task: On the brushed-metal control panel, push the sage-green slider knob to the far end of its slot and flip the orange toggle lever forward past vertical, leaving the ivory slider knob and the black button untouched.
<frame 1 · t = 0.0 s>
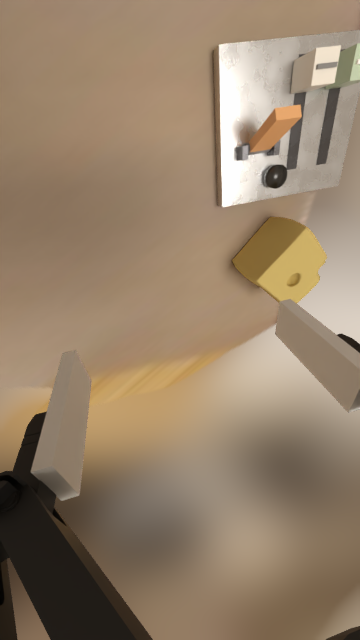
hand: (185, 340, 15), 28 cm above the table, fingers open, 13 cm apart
slider ivory: (314, 71, 28), point 4 cm above the table, slide at 0.0 cm
lever orange: (270, 133, 30), point 6 cm above the table, hinge at -24.0°
panel: (281, 129, 35), on the table
slider sage: (351, 66, 29), point 4 cm above the table, slide at 0.0 cm
cheese: (263, 253, 45), on the table
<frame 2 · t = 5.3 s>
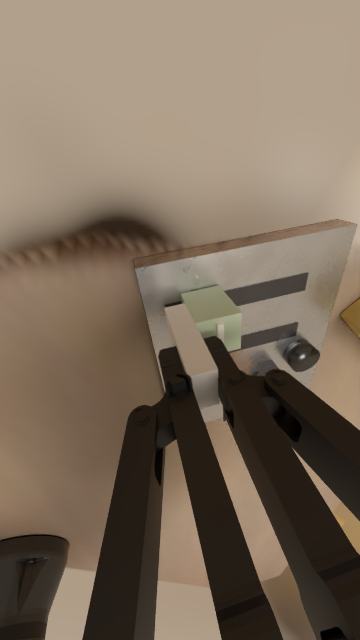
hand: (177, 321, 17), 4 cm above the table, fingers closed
lever orange: (266, 412, 23), point 6 cm above the table, hinge at -24.0°
panel: (238, 336, 24), on the table
slider sage: (210, 321, 17), point 4 cm above the table, slide at 0.8 cm, touching gripper
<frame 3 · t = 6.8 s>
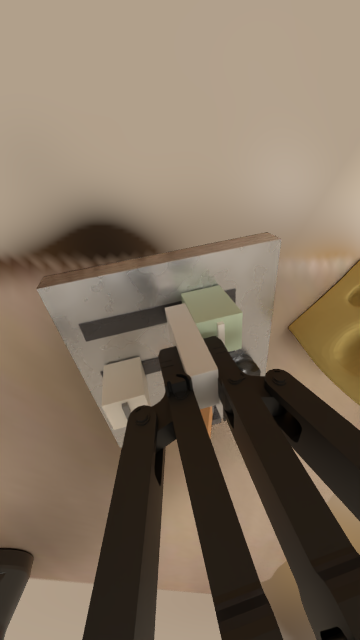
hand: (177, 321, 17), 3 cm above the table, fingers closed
slider ivory: (127, 393, 19), point 4 cm above the table, slide at 0.0 cm
lever orange: (202, 431, 22), point 6 cm above the table, hinge at -24.0°
panel: (178, 351, 24), on the table
slider sage: (210, 321, 17), point 4 cm above the table, slide at 7.2 cm, touching gripper
cheese: (340, 316, 26), on the table
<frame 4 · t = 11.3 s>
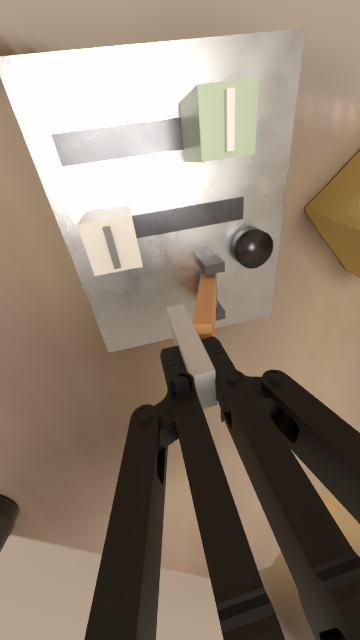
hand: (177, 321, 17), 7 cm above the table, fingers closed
slider ivory: (112, 239, 15), point 4 cm above the table, slide at 0.0 cm
lever orange: (206, 310, 18), point 6 cm above the table, hinge at -21.1°, touching gripper
panel: (176, 226, 20), on the table
slider sage: (216, 126, 13), point 4 cm above the table, slide at 7.2 cm
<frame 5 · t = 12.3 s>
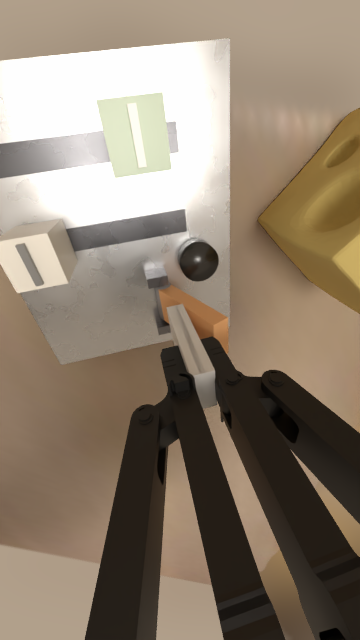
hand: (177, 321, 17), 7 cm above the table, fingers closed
slider ivory: (40, 254, 15), point 4 cm above the table, slide at 0.0 cm
lever orange: (186, 315, 18), point 6 cm above the table, hinge at 22.9°, touching gripper
panel: (122, 238, 20), on the table
slider sage: (135, 140, 13), point 4 cm above the table, slide at 7.2 cm
cheese: (322, 213, 22), on the table
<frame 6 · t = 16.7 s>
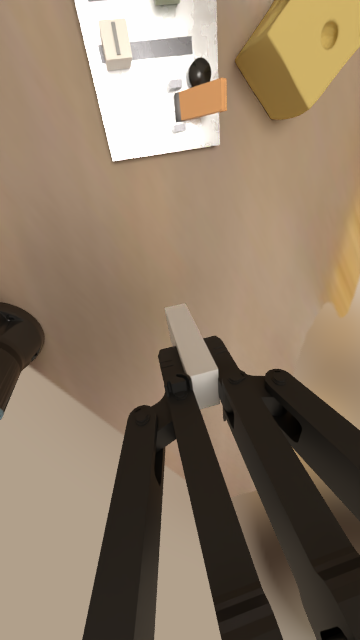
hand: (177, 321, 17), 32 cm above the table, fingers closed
slider ivory: (115, 45, 28), point 4 cm above the table, slide at 0.0 cm
lever orange: (198, 102, 32), point 5 cm above the table, hinge at 38.1°
panel: (153, 65, 33), on the table
cheese: (275, 62, 36), on the table
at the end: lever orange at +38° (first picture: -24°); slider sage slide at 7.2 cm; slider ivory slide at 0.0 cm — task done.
